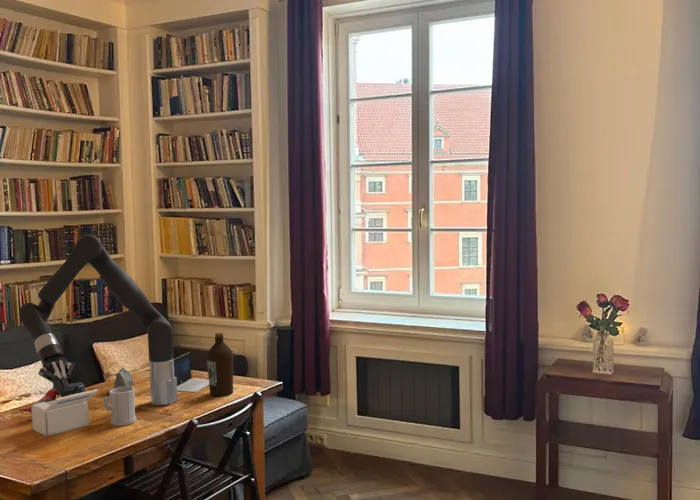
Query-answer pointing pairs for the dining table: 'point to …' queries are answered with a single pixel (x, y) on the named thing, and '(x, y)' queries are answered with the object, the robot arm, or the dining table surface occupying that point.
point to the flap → (72, 399)
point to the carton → (59, 418)
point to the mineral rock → (123, 379)
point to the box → (73, 389)
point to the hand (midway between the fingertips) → (65, 388)
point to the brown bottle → (220, 368)
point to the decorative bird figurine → (44, 398)
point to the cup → (121, 405)
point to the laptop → (186, 375)
